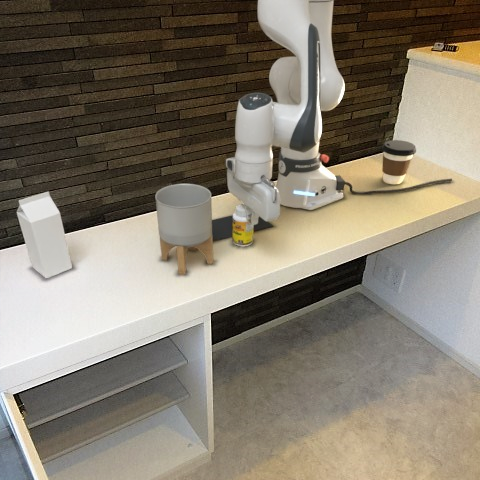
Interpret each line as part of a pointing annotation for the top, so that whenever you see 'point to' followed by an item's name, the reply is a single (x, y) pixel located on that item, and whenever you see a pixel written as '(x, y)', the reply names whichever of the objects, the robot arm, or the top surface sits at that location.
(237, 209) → the supplement bottle
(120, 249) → the top surface
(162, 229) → the planter
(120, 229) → the top surface
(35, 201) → the milk carton
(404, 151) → the coffee cup
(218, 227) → the rubber mat
